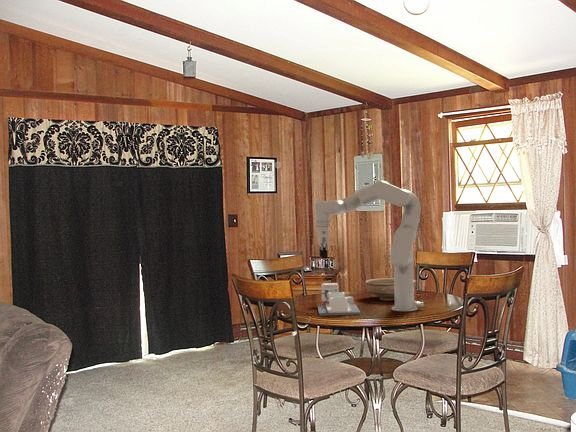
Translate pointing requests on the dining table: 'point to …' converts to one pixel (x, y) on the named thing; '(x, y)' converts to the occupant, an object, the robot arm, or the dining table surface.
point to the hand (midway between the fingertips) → (323, 257)
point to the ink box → (328, 291)
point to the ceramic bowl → (382, 288)
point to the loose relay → (350, 300)
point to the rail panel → (324, 310)
